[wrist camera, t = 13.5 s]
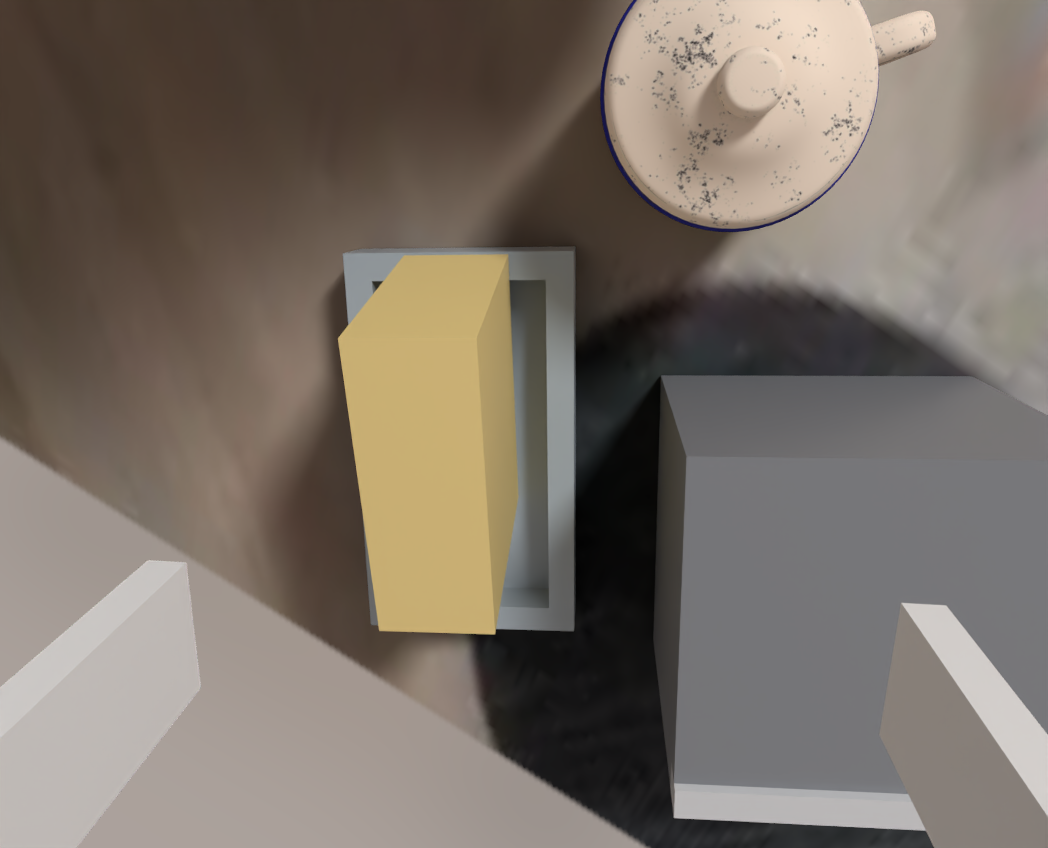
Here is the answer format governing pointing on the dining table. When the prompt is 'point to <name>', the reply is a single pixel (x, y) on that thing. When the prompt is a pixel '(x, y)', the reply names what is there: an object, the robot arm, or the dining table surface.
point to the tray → (523, 424)
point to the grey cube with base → (832, 577)
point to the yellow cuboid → (435, 440)
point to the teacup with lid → (745, 102)
